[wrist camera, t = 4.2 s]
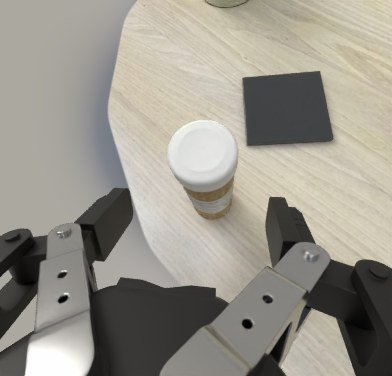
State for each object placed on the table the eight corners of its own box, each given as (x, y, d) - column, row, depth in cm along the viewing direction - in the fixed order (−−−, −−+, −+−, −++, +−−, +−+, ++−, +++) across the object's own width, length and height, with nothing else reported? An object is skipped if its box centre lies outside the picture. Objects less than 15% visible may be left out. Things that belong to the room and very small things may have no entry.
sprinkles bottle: (207, 175, 28) (194, 105, 15) (239, 196, 26) (254, 139, 14) (185, 205, 27) (150, 158, 14) (216, 228, 26) (209, 198, 13)
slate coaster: (246, 145, 28) (247, 143, 28) (241, 80, 31) (242, 77, 31) (331, 141, 27) (333, 138, 27) (318, 74, 30) (320, 70, 30)
